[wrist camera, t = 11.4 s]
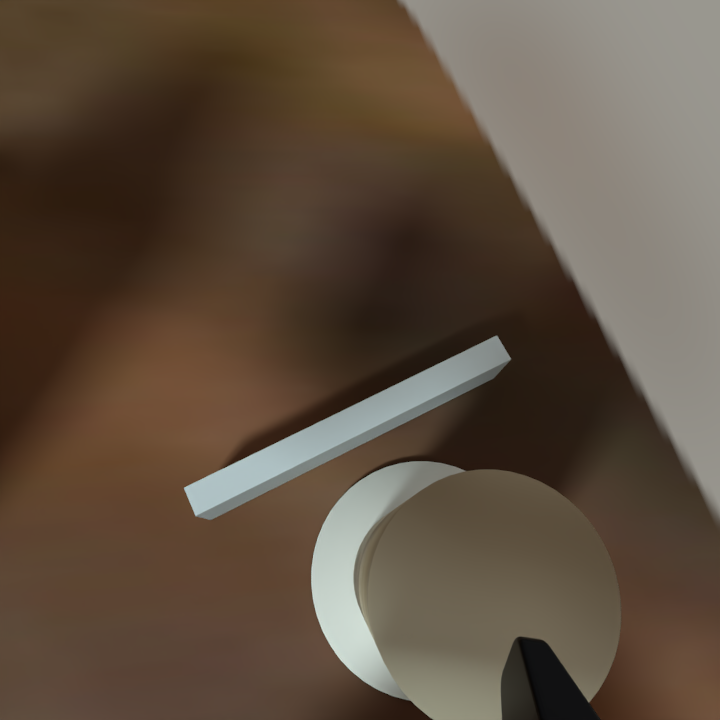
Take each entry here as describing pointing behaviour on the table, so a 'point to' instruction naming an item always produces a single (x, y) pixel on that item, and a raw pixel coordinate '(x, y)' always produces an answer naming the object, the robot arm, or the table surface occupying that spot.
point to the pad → (338, 560)
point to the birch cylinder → (485, 590)
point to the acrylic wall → (346, 430)
